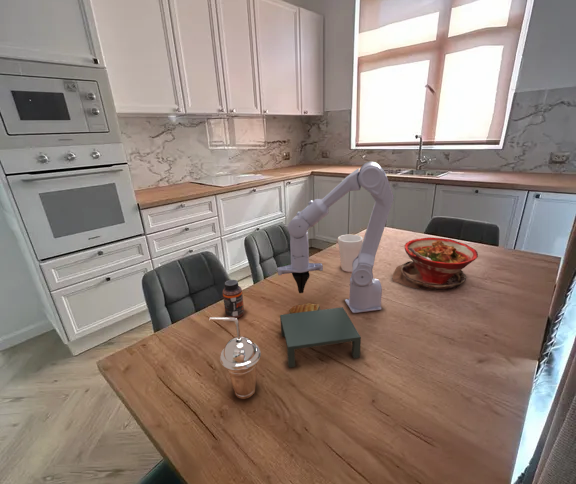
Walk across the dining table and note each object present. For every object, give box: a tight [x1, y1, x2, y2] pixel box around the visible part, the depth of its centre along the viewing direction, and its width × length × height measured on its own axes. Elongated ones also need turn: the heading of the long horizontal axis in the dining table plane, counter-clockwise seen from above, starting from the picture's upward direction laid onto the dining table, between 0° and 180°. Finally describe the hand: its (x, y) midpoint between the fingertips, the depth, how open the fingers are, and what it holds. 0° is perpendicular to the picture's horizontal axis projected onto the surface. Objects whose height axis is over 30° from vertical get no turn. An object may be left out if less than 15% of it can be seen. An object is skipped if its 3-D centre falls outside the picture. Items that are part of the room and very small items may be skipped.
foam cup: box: [337, 233, 364, 273], centre depth 124 cm, size 10×9×13 cm
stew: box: [392, 237, 479, 292], centre depth 111 cm, size 28×24×16 cm
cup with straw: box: [208, 316, 262, 400], centre depth 66 cm, size 8×9×20 cm
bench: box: [279, 306, 362, 369], centre depth 82 cm, size 18×14×6 cm
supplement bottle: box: [222, 279, 245, 319], centre depth 96 cm, size 6×6×11 cm
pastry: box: [289, 302, 321, 314], centre depth 96 cm, size 9×7×4 cm
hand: (300, 291), depth 103 cm, fingers closed
